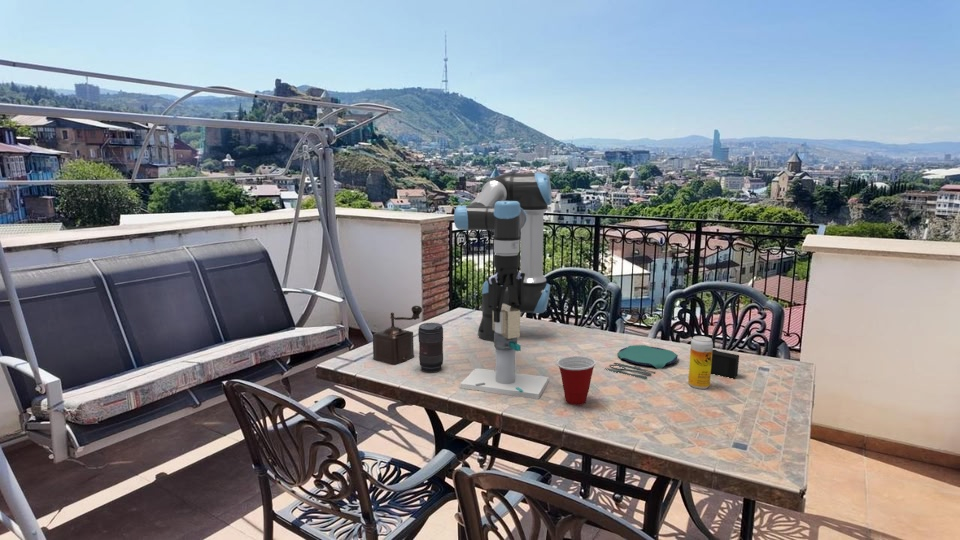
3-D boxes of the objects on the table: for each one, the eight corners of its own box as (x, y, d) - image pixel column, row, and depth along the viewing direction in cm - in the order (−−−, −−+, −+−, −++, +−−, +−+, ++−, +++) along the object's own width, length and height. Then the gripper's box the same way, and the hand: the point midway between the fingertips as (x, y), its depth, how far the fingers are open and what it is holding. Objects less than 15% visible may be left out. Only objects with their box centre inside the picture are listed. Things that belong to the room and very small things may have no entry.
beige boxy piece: (487, 343, 161) (488, 305, 159) (507, 340, 164) (508, 303, 162) (508, 355, 149) (508, 314, 147) (529, 352, 152) (530, 312, 150)
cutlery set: (685, 358, 185) (686, 352, 185) (651, 383, 163) (651, 376, 163) (632, 347, 198) (633, 341, 198) (594, 369, 176) (594, 363, 175)
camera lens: (414, 371, 172) (413, 326, 169) (427, 363, 179) (427, 321, 176) (435, 375, 168) (434, 330, 165) (448, 367, 175) (447, 324, 172)
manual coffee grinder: (395, 365, 176) (394, 314, 173) (372, 359, 183) (370, 309, 180) (425, 353, 189) (424, 305, 186) (403, 348, 195) (401, 301, 192)
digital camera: (738, 374, 169) (740, 353, 168) (734, 379, 165) (736, 358, 164) (705, 367, 176) (706, 347, 175) (700, 372, 172) (702, 351, 170)
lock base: (475, 372, 170) (475, 337, 168) (548, 381, 163) (549, 344, 161) (460, 388, 157) (459, 350, 155) (538, 399, 149) (539, 359, 147)
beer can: (700, 391, 156) (703, 342, 153) (683, 384, 161) (687, 337, 158) (714, 387, 158) (717, 339, 156) (697, 380, 164) (700, 334, 161)
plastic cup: (553, 393, 154) (554, 354, 152) (590, 393, 153) (592, 354, 151) (557, 409, 143) (559, 367, 141) (597, 409, 143) (599, 367, 141)
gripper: (492, 258, 145) (492, 339, 148) (537, 252, 156) (535, 328, 160) (475, 255, 150) (474, 333, 154) (519, 250, 162) (518, 323, 166)
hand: (505, 330), depth 157 cm, fingers closed on beige boxy piece, 5 cm apart
